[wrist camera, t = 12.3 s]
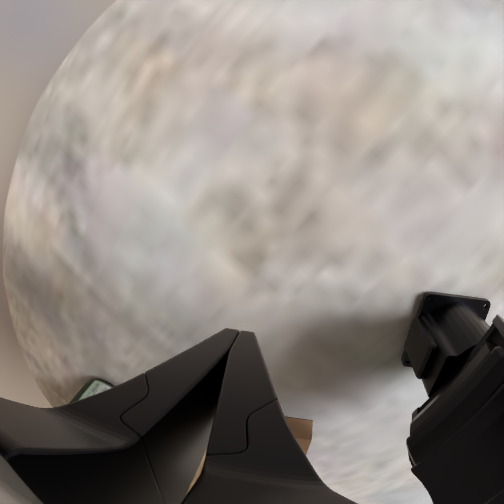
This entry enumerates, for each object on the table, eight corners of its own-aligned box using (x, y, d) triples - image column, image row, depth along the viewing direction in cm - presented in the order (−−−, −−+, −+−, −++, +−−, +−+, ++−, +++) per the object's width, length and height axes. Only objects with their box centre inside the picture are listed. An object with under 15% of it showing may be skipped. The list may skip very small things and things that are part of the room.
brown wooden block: (243, 429, 24) (237, 472, 26) (311, 440, 23) (294, 481, 26) (249, 409, 27) (243, 454, 29) (312, 419, 26) (296, 462, 28)
